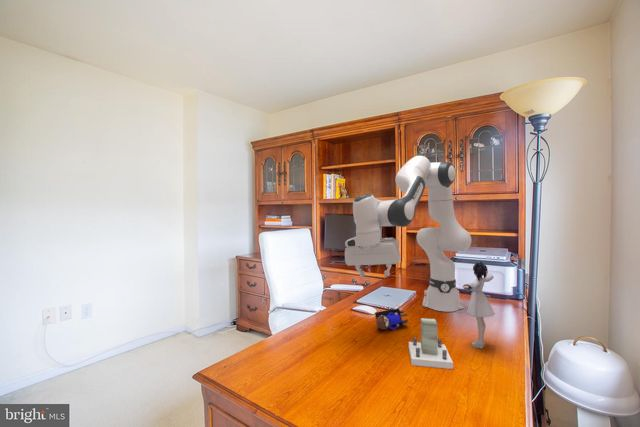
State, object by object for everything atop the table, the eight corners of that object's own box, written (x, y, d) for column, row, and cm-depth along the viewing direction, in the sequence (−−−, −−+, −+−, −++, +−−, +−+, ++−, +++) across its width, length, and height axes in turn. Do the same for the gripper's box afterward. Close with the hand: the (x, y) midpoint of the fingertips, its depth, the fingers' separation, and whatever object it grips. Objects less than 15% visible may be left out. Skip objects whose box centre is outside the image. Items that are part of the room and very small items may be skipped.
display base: (408, 347, 105) (408, 334, 105) (444, 350, 103) (444, 337, 102) (411, 365, 93) (411, 351, 93) (452, 369, 91) (452, 354, 91)
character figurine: (411, 329, 121) (380, 336, 115) (399, 321, 128) (370, 327, 122) (412, 310, 121) (381, 316, 115) (400, 303, 127) (370, 309, 121)
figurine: (479, 332, 116) (479, 256, 116) (504, 339, 110) (504, 259, 110) (454, 355, 99) (454, 265, 98) (481, 364, 93) (482, 269, 92)
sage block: (420, 347, 101) (420, 318, 100) (434, 348, 100) (435, 319, 99) (422, 353, 96) (422, 323, 96) (437, 355, 95) (437, 324, 95)
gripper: (399, 235, 107) (404, 272, 107) (346, 239, 116) (352, 274, 117) (395, 238, 101) (401, 278, 102) (340, 242, 110) (346, 279, 111)
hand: (374, 276), depth 109 cm, fingers open, 8 cm apart
